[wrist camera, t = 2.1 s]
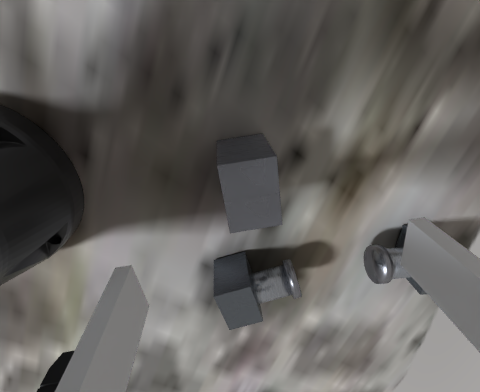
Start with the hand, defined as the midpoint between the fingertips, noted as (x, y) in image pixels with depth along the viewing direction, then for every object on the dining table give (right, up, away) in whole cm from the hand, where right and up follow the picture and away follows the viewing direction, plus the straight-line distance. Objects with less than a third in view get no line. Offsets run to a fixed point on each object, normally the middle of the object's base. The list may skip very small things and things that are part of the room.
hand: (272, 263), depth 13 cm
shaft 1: (0, -5, +17) cm, 17 cm away
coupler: (-1, +6, +11) cm, 13 cm away
